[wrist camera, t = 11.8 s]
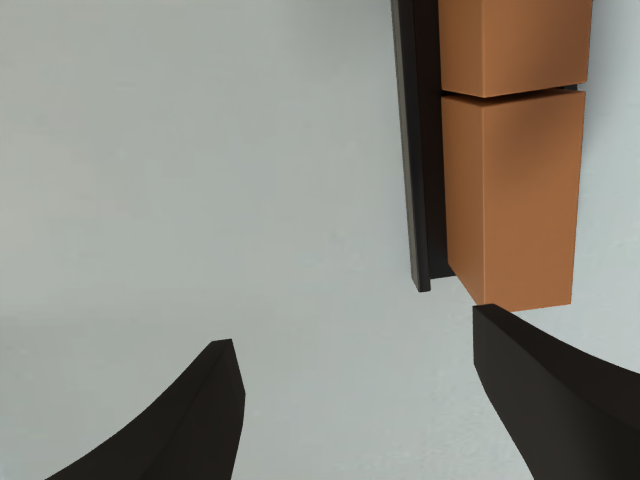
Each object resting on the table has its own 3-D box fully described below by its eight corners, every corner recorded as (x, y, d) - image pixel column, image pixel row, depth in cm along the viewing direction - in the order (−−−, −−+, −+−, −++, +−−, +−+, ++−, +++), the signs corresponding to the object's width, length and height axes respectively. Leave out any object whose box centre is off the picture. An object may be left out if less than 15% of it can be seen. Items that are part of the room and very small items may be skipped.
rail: (570, -178, 16) (596, -202, 15) (549, 259, 23) (566, 273, 21) (379, -146, 17) (386, -167, 15) (411, 278, 23) (418, 293, 22)
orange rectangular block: (519, 84, 19) (586, 90, 15) (516, 254, 22) (571, 304, 18) (440, 96, 19) (482, 106, 15) (447, 263, 22) (484, 316, 18)
